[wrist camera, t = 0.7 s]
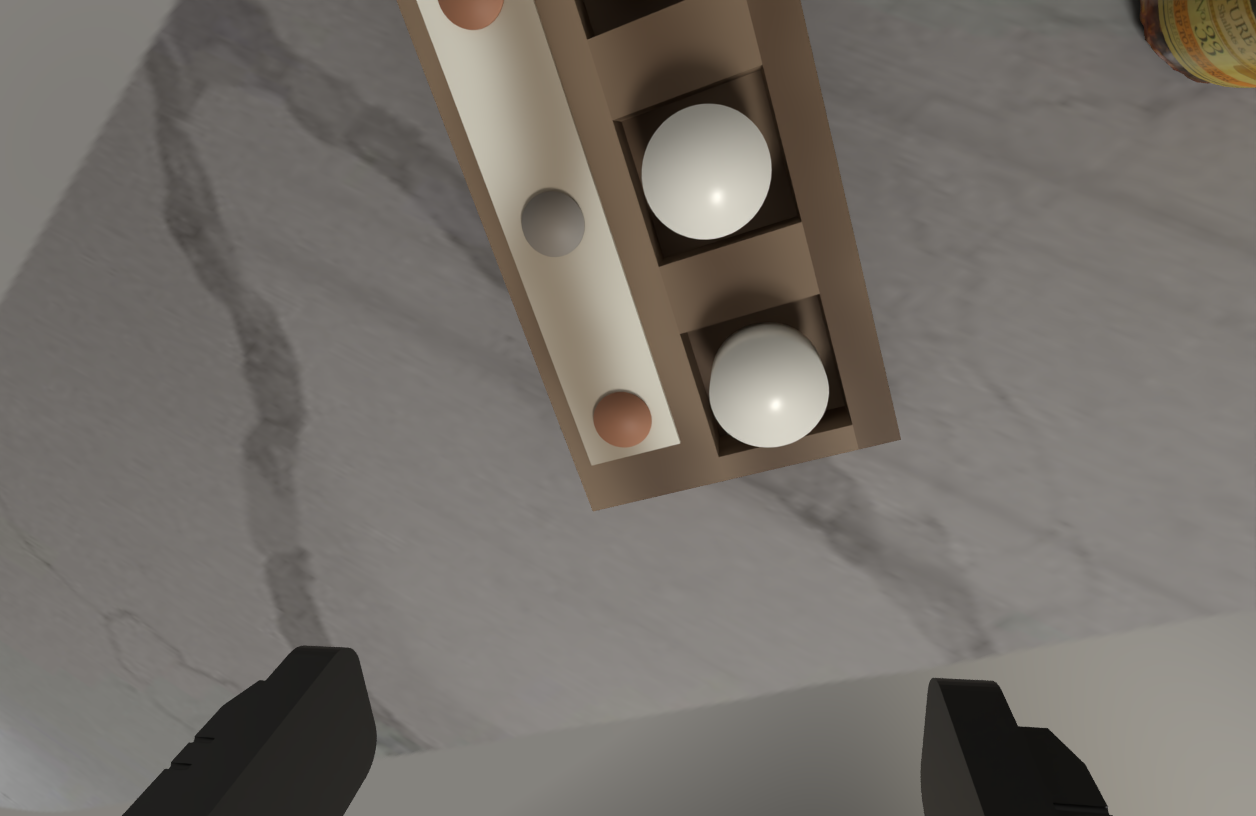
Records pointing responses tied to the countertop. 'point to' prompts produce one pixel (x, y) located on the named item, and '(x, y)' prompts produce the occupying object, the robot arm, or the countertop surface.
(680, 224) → the button
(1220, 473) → the countertop surface
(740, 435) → the button
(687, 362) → the button panel
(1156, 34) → the sauce bottle
